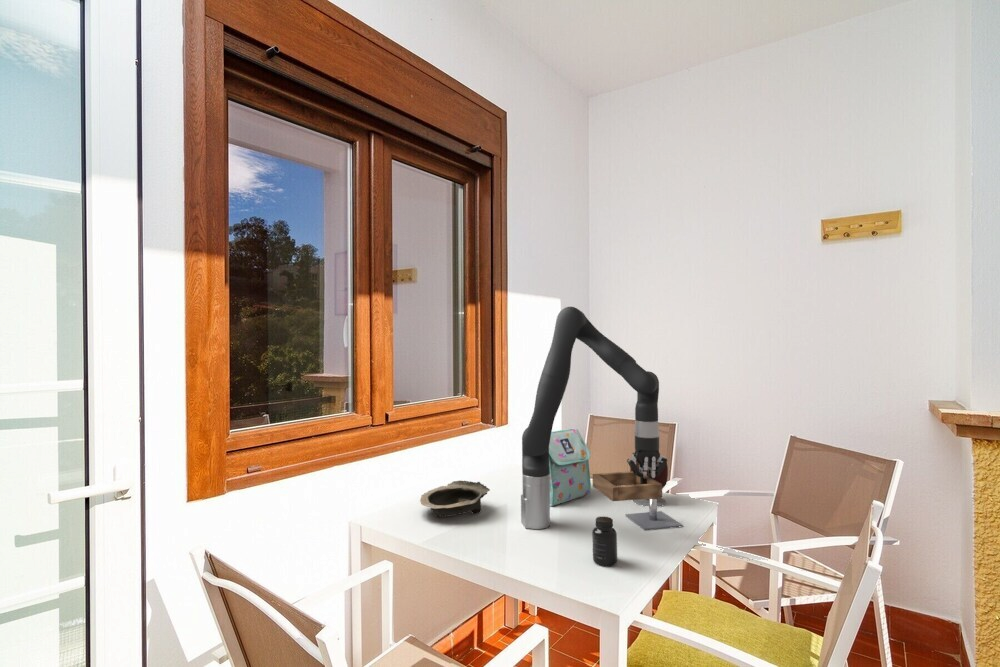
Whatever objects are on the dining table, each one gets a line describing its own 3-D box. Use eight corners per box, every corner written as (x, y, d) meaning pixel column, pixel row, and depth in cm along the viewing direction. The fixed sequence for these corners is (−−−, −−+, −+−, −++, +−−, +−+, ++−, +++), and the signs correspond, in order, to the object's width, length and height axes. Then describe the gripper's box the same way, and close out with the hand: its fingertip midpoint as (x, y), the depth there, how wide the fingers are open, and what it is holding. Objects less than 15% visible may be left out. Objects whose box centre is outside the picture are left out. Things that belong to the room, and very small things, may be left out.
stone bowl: (499, 505, 192) (498, 481, 192) (468, 534, 170) (467, 507, 169) (443, 496, 203) (442, 474, 202) (406, 522, 180) (405, 497, 180)
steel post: (651, 520, 174) (651, 500, 174) (648, 518, 177) (647, 498, 177) (658, 520, 175) (658, 499, 175) (654, 517, 177) (654, 497, 177)
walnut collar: (613, 501, 152) (612, 487, 152) (592, 486, 167) (592, 473, 167) (662, 497, 155) (662, 484, 155) (637, 483, 171) (637, 471, 171)
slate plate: (644, 530, 167) (644, 528, 167) (625, 515, 181) (625, 514, 181) (683, 526, 170) (682, 525, 170) (661, 512, 184) (661, 511, 184)
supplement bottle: (599, 554, 149) (599, 513, 149) (621, 560, 145) (621, 518, 145) (588, 562, 144) (587, 519, 144) (610, 569, 140) (609, 525, 140)
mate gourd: (647, 494, 206) (647, 444, 206) (676, 503, 194) (675, 450, 194) (619, 501, 198) (619, 449, 198) (647, 511, 186) (647, 456, 186)
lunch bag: (554, 509, 189) (553, 436, 189) (524, 498, 201) (523, 430, 202) (594, 496, 203) (594, 429, 203) (564, 487, 216) (564, 423, 216)
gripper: (632, 437, 158) (632, 494, 158) (672, 435, 160) (673, 491, 160) (621, 433, 165) (622, 487, 165) (660, 431, 168) (661, 484, 168)
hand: (647, 488), depth 163 cm, fingers closed on walnut collar, 1 cm apart
